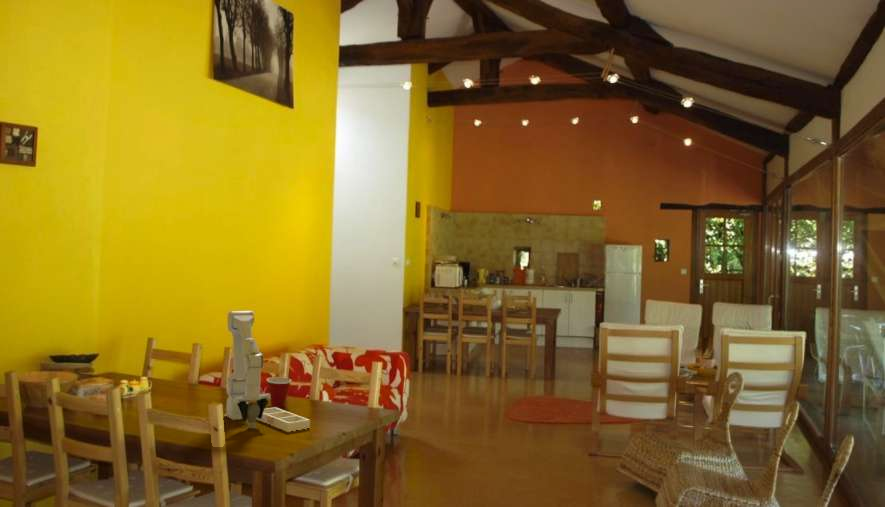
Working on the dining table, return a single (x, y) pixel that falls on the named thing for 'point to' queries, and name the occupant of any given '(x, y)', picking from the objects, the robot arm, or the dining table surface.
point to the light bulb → (252, 414)
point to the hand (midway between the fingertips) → (252, 419)
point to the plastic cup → (278, 390)
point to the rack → (284, 420)
